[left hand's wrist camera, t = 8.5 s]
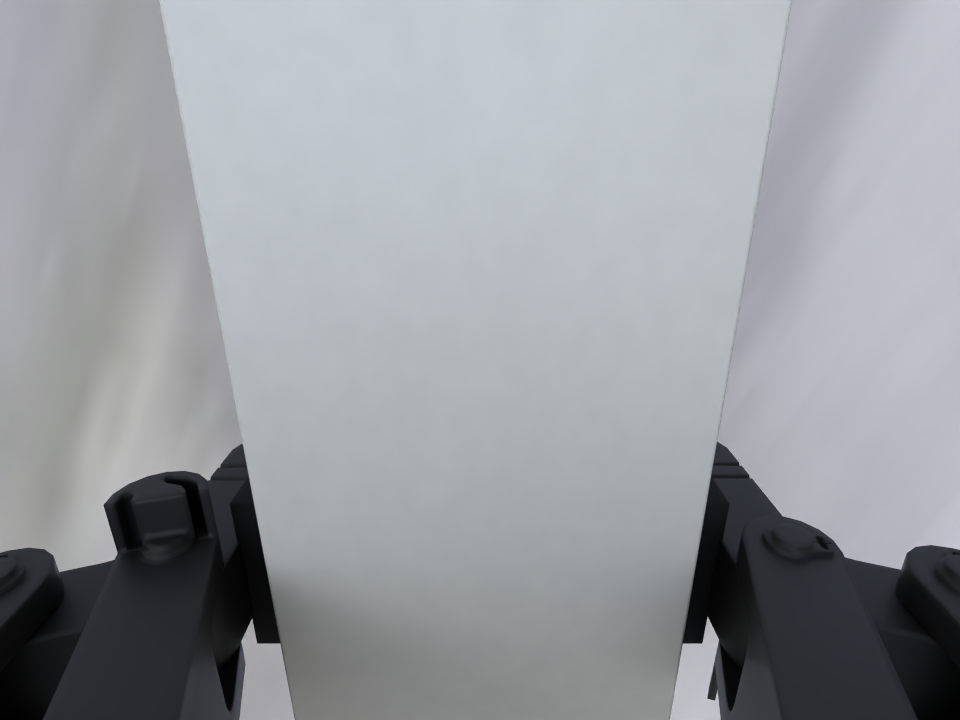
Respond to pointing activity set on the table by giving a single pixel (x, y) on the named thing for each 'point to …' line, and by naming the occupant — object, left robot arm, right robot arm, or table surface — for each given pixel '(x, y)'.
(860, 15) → the table surface
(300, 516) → the bar
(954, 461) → the table surface
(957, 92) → the table surface
